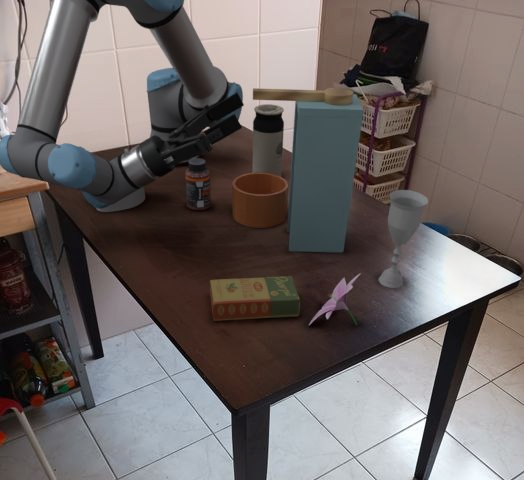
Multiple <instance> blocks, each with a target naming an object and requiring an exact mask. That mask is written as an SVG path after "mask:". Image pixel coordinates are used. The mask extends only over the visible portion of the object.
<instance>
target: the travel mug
mask: <svg viewBox="0 0 524 480" xmlns="http://www.w3.org/2000/svg"><path fill="white" fill-rule="evenodd" d="M284 111H285V109H284V107H282V106H281V105H277V104H272V103H271V104H270V103H269V104H268V103H267V104H259V105H257V106H255V107H254V112H255V117H254V118H253V121H252V123H253V124H252V167H251V168H252V172H251V173H269V174H274V175H277V176H280V177H282V170H283V169H282V168H283V152H284V151H283V150H284V131H285V130H284V129H285V121H284V119H283V113H284Z"/></svg>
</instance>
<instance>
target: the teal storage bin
mask: <svg viewBox="0 0 524 480" xmlns="http://www.w3.org/2000/svg"><path fill="white" fill-rule="evenodd" d="M294 103H295V104H294V117H293V118H294V119H293V132H292V148H291V165H290V179H289V181H290V182H289V193H288V195H289V197H288V208H287V211H288V212H287V227H286V231H287V233H289V236H288V237H289V239H288V252H301V253H302V252H306V253H307V252H308V253H344V251H345V243H346V236H347V231H348V230H347V229H348V221H349V214H350V208H351V201H352V195H353V188H354V180H355V172H356V166H357V158H358V152H359V145H360V137H361V131H362V123H363V118H364V110H365V109H364V107H363V105H362V104H361V101H360V99H359V97H358V95H357V93H353V100H352V103H351V104H348V105H332V104H328V103H325V102H312V101H294Z"/></svg>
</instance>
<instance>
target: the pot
mask: <svg viewBox="0 0 524 480" xmlns="http://www.w3.org/2000/svg"><path fill="white" fill-rule="evenodd" d="M231 183H232V184H231V189H232V191H231V192H232V194H231V199H232V204H231V205H232V208H231V209H232V218H233V219H234V221H236V222H237V223H238V224H240V225H241V226H242V225H243V226H245V227H249V228H256V229H257V228H258V229H265V228H272V227H276V226H278V225H281V224H282V223H284V221H286V218H287V214H288V212H287V211H288V198H289V197H288V195H289V182H288V181H287V180H286V179H285V178H284V177H282V176H281V177H280V176H277V175H274V174H269V173H252V172H248V173H244V174H240V175H238V176H236V177H235V178H234V179H233V180H232V182H231Z"/></svg>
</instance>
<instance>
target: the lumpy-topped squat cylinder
mask: <svg viewBox="0 0 524 480" xmlns="http://www.w3.org/2000/svg"><path fill="white" fill-rule="evenodd" d="M145 200H146V191H145V186H144V187H142V188H140V189H138V190H137V191H135V192H133V193H131V194H130V195H128V196H126V197H124V198H123V199H121V200H119V201H118V202H117V203H115V204H113V205H110V206H107V207H105V208H103V209H98V208H95V210H96V211H99V212H100V213H113V212H118V211H119V212H120V211H125V210H128V209H132V208H135V207H137V206H140V204H142V203H143V202H144V201H145Z"/></svg>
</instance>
